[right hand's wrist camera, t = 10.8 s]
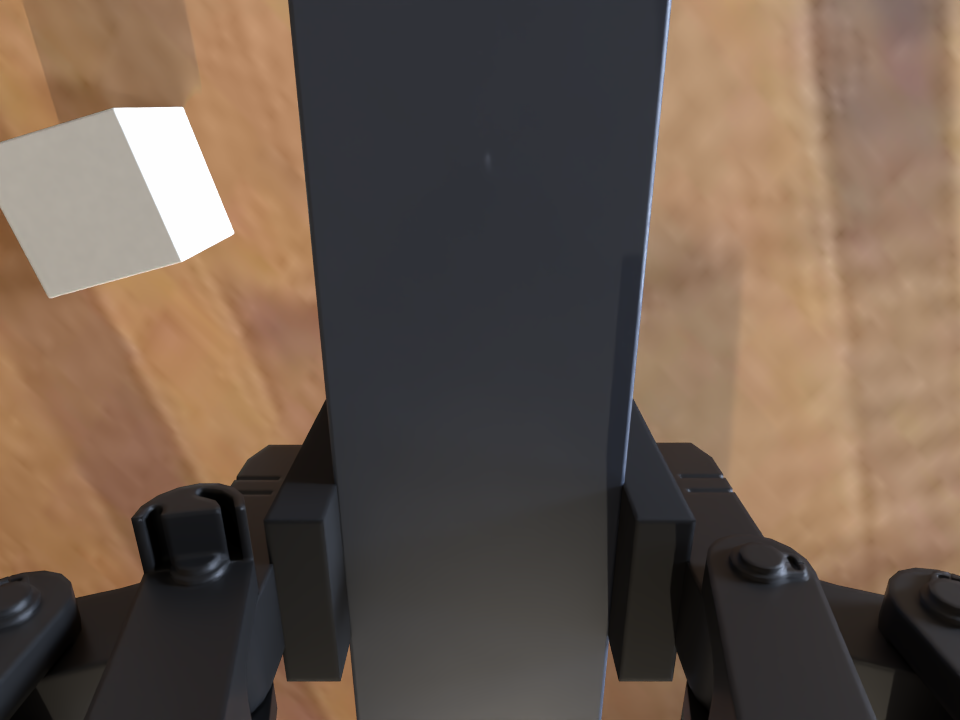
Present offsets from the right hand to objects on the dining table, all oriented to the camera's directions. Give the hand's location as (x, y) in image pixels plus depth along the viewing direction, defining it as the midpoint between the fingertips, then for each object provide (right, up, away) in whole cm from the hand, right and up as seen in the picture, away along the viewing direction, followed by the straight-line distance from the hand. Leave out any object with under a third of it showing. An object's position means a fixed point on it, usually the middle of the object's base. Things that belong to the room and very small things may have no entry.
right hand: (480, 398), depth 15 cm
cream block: (-13, +8, +11) cm, 19 cm away
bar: (0, +8, -3) cm, 8 cm away
